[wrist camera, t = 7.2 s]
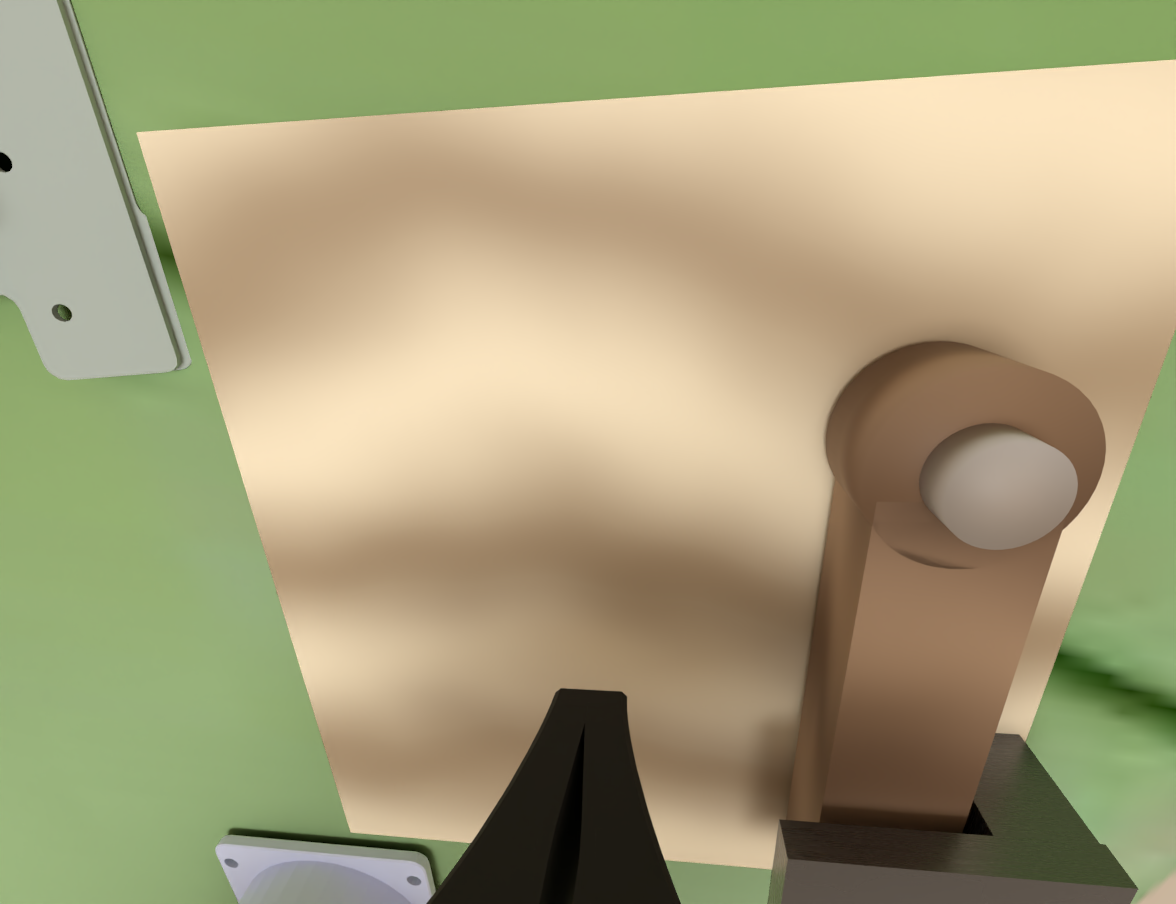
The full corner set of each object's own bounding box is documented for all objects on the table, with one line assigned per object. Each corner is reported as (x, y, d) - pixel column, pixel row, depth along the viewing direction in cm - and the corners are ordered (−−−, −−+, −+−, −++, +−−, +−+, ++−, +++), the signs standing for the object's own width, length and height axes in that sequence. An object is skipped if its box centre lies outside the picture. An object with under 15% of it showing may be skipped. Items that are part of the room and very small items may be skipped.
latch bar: (837, 342, 10) (902, 380, 8) (1046, 338, 10) (1189, 378, 7) (771, 843, 15) (796, 965, 13) (904, 854, 15) (957, 982, 12)
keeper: (985, 841, 15) (1074, 1004, 12) (746, 822, 16) (770, 970, 12) (1023, 734, 13) (1138, 888, 10) (757, 719, 14) (787, 859, 11)
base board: (954, 850, 16) (972, 886, 16) (365, 802, 19) (350, 832, 18) (1211, 70, 9) (1276, 52, 8) (178, 140, 11) (136, 132, 10)
